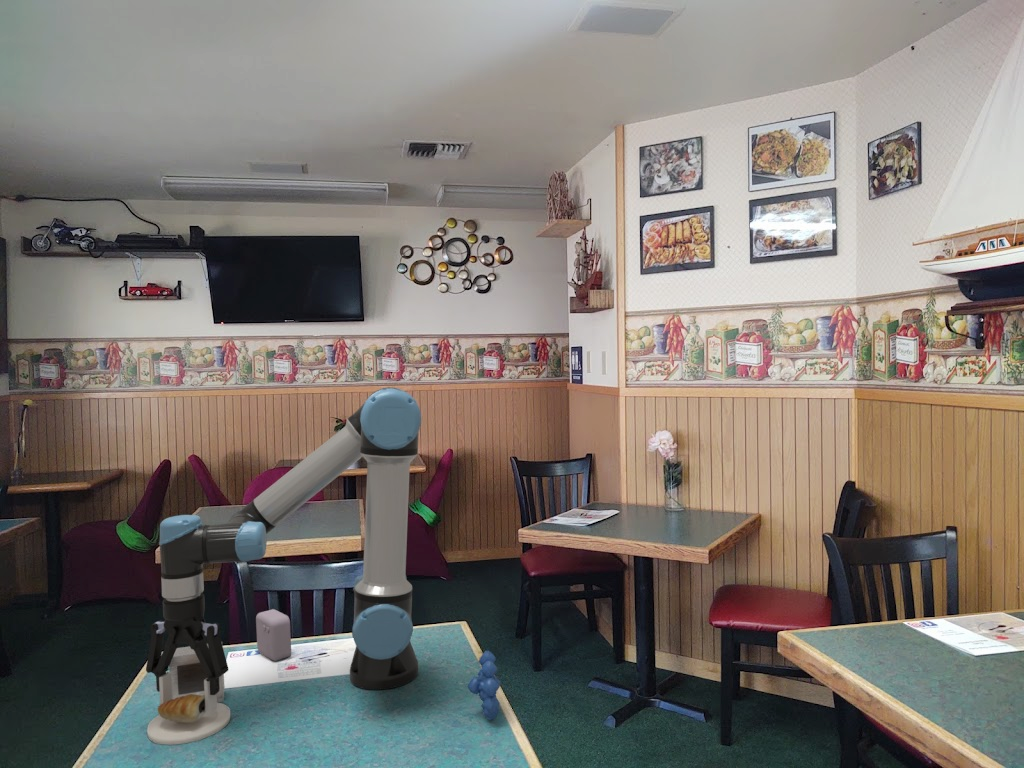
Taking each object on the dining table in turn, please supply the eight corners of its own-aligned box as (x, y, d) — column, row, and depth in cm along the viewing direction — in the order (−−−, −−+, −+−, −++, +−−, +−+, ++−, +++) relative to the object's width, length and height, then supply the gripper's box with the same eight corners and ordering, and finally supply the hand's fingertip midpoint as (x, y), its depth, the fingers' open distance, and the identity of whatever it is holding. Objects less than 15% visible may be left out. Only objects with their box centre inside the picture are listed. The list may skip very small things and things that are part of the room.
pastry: (149, 722, 142) (149, 703, 141) (170, 706, 148) (169, 687, 148) (196, 723, 140) (195, 703, 140) (214, 707, 147) (213, 688, 147)
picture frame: (224, 691, 161) (222, 641, 161) (223, 702, 156) (220, 650, 156) (174, 699, 158) (171, 648, 158) (171, 710, 153) (168, 657, 153)
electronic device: (255, 652, 183) (253, 612, 183) (273, 647, 186) (271, 607, 186) (273, 663, 176) (271, 621, 175) (291, 658, 179) (289, 616, 179)
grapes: (466, 702, 152) (464, 644, 151) (499, 699, 152) (497, 641, 152) (469, 730, 140) (467, 667, 140) (505, 727, 141) (503, 664, 140)
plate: (245, 709, 152) (245, 703, 152) (200, 747, 137) (199, 740, 137) (180, 705, 155) (180, 699, 155) (129, 741, 141) (129, 734, 140)
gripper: (244, 591, 147) (249, 703, 148) (147, 588, 152) (153, 696, 152) (222, 603, 140) (227, 721, 140) (121, 599, 144) (126, 714, 145)
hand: (188, 708), depth 146 cm, fingers closed on pastry, 9 cm apart
